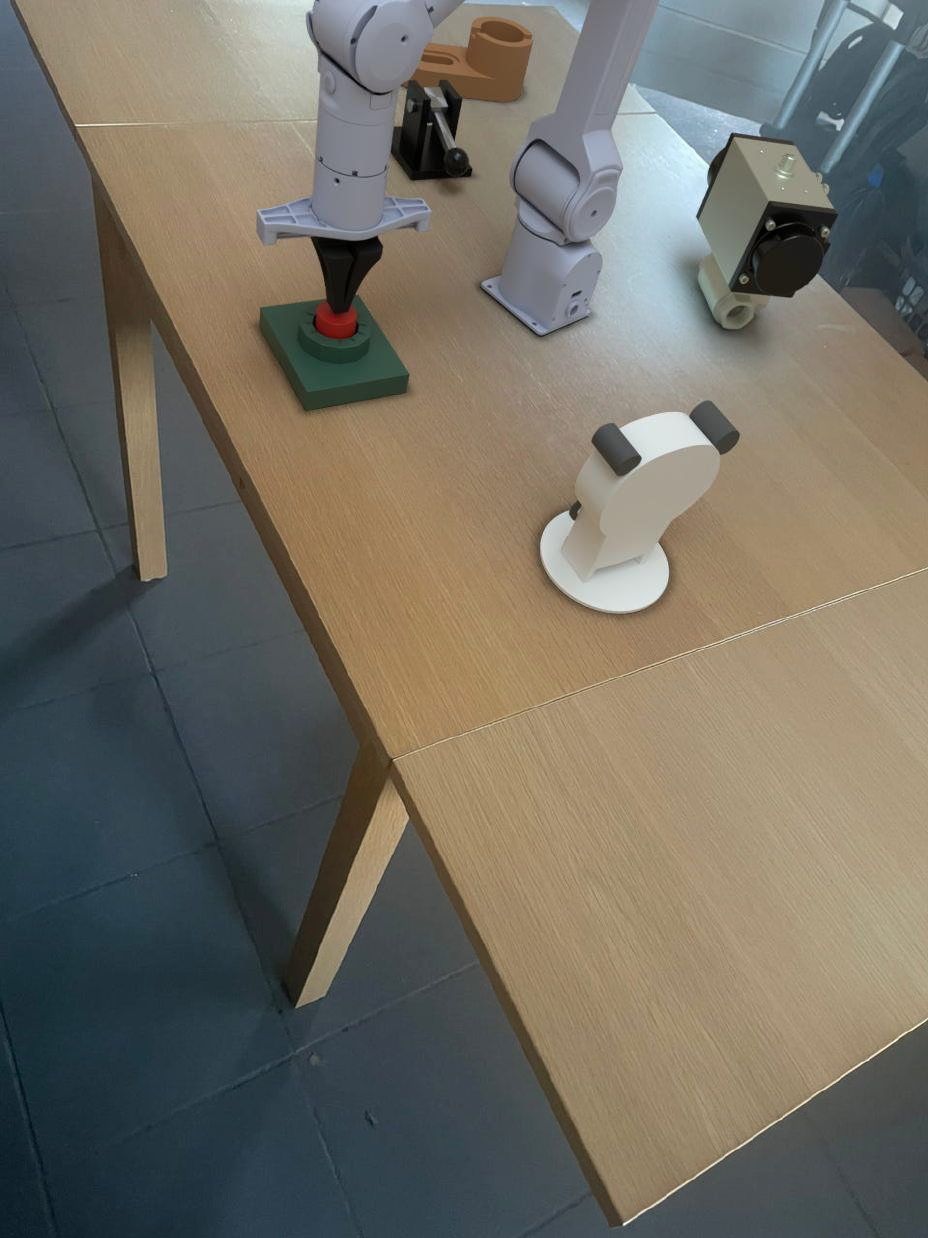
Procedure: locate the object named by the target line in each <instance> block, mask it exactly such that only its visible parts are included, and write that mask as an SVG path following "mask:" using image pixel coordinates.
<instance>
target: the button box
mask: <svg viewBox="0 0 928 1238" xmlns="http://www.w3.org/2000/svg"><path fill="white" fill-rule="evenodd" d="M323 301H326V298H321V299H320V298H319V299H313V300H305V301H297V302H290V303H283V304H276V305H268V306H260V307H259V329H260V330H261V332H262V334H263V336H264V338H265V339H266V342H267V343H268V345H269V347H270V349H271V350H272V352H273V354H274V356H275V357H276V359H277V361H278V363H279V365H280V367H281V369H282V370H283V372H284V374H285V376H286V377H287V379H288V382H289V383H290V385H291V387H292V389H293V390H294V392H295V394H296V396H297V397H298V399H299V402H300V403H301V405H302V407H303V408H304V411H312V410H317V409H322V408H328V407H333V406H334V407H335V406H339V405H344V404H345V405H346V404H350V403H355V402H362V401H367V400H371V399H372V400H373V399H377V398H383V397H389V396H394V395H401V394H405V393H407V391H408V385H409V381H410V373H409V371H408V368H407V367H406V366H405V365H404V363H403V361H402V360H401V358H400V357H399V355H398V353H397V352H396V351H395V349H394V347H393V345H392V344H391V342H390V341H389V340H388V338H387V336H386V335H385V334H384V332H383V330H382V328H381V327H380V326H379V324H378V323H377V321H376V319H375V318H374V316H373V315H372V313H371V312H370V310H369V309H368V307H367V306H366V304H365V302H364V301H363V299H362V298H361V296H360V295H359V294H355V296H354V299H353V301H352V303H351V305H352V306H353V307H354V308H355V310H356V312H357V320H356V328H355V333H354V335H353V336H352V337H350V338H346V339H340V340H339V339H334V338H329V337H326V336H324V335H322V334H321V333H319V332H318V331H317V329H316V313H317V307H318V305H319V304H320V303H322V302H323Z"/></svg>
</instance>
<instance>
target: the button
mask: <svg viewBox="0 0 928 1238" xmlns="http://www.w3.org/2000/svg"><path fill="white" fill-rule="evenodd" d="M356 320H357V312H356V310H355V308H354V307H353V306H352V305H351V306H350V309H349V311H348V312H347V313H338V314H334V313H333V311H332V310H331V308H330V306H329V304H328V303H327V300H326V301H323V302H322V303H320V304H319V305H318V307H317V313H316V329H317V331H318V332H319V333H321V334H322V335H324V336H326V337H329V338H334V339H339V340H340V339H346V338H350V337H352V336H353V335H354V333H355V328H356Z"/></svg>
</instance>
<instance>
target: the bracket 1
mask: <svg viewBox="0 0 928 1238" xmlns="http://www.w3.org/2000/svg"><path fill="white" fill-rule="evenodd" d="M469 33H470V34H469V37H468V44H467V46H459V45H452V44H443V43H436V42H429V43H428V44H427V46H426V47H425V49H424V51H423V54H422V57H421V60H420V63H419V65H418V67H417V69H416V71H415V72H414V74H413V75H412V77H411V78H410V79H409V80H416V81H417V82H418V83H419V84H420V86H421V87H422V88H424V87H438V86H439V80H448V81H449V83H450V84H451V85H452V86H453V88H454V89H455V90H456V91H457V92H458V94H459V95H460V96H461V97H462V99H464V98H465V99H473V100H480V101H489V102H498V103H509V102H513V101H516V100H518V99H519V98H520V97H521V94H522V91H523V86H524V83H525V79H526V73H527V69H528V65H529V61H530V57H531V52H532V49H533V44H534V39H532V38H533V34H532V32H531V31H530V30H529V29H528V28H526V27H525V26H523V25H521V24H520V23H518V22H516V21H513V20H510V19H508V18H502V17H498V16H481V17H477V18H475V19H474V20H473V21H472V22H471V27H470V32H469ZM400 86H402V87H404V88H407V87H408V81H406V82H404V83H402V84H401V85H400Z"/></svg>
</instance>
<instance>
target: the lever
mask: <svg viewBox="0 0 928 1238" xmlns="http://www.w3.org/2000/svg"><path fill="white" fill-rule="evenodd" d="M423 90H424V91H425V92H426V93H427V95H428V96H429V97H430V98H431V105H430V111H429V117H428V123H427V124H432V123H434V125H435V128H436V130H437V133H438V135H439V138H440V140H441V143H442V145H443V148H444V150H445V152H446V153H445V155H444V158H443V166H444V169H445V170H446V172H447V173H448V174H449V175H451V176H455V177H454V178H458V177H457V176H461V175H463V174H464V173H465V172H466V171H467V169H468V166H469V165H470V158H469V156H468V153H467V152H466V151H465V150H464V149H463V148H461V147H458V146H457V144H456V141H455V142H454V139H453V137H452V135H451V132H450V130H449V127H448V125H447V122H446V120H445V117H444V116H445V114H446V111H447V109H448V105H447V102H446V100H445V97H444V95H443V93H442V90H441V88H440V87H424V88H423Z"/></svg>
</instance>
